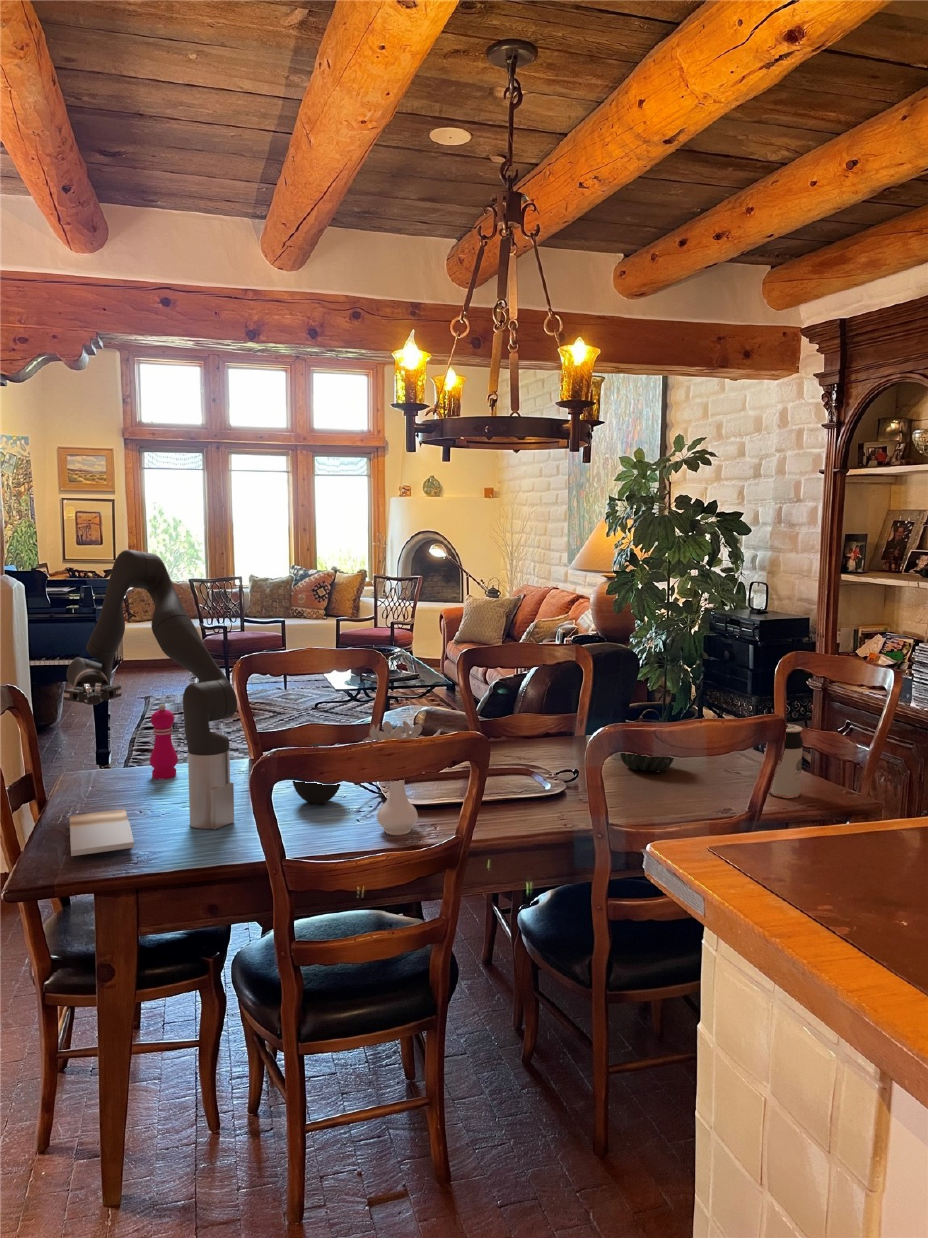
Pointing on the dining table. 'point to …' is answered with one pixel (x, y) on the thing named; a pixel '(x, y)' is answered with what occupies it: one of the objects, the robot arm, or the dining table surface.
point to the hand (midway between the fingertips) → (94, 700)
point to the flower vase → (396, 784)
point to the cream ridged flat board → (98, 818)
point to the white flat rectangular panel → (101, 838)
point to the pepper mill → (163, 745)
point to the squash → (646, 761)
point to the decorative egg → (315, 790)
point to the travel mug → (790, 764)
